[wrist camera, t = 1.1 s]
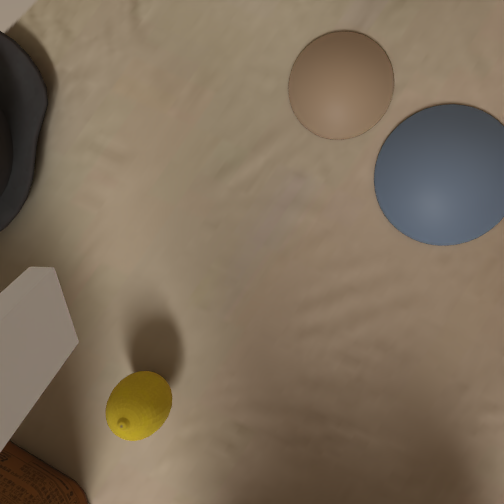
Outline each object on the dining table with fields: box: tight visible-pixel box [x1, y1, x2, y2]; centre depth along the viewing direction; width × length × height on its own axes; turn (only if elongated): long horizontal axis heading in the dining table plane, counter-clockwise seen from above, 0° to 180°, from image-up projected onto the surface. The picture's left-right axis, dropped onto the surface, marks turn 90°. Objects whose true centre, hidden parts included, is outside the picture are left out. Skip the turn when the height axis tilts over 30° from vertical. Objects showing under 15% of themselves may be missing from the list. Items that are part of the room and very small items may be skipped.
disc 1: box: [289, 31, 394, 140], centre depth 38 cm, size 9×9×1 cm
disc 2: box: [374, 104, 504, 245], centre depth 38 cm, size 12×12×1 cm
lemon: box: [106, 371, 172, 441], centre depth 40 cm, size 6×6×8 cm
